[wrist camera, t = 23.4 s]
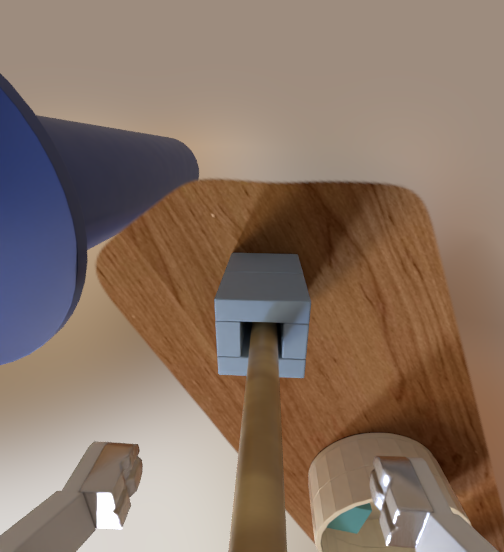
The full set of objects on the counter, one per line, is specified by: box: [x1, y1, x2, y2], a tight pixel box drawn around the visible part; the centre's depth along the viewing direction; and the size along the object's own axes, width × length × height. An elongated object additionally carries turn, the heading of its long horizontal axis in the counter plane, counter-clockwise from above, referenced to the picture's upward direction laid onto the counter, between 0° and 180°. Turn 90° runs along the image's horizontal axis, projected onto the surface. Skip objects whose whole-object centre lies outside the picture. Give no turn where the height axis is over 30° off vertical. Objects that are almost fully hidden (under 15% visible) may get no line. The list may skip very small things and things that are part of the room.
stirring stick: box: [228, 322, 287, 552], centre depth 13 cm, size 2×2×15 cm
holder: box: [214, 253, 311, 378], centre depth 20 cm, size 5×5×8 cm
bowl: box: [308, 433, 472, 552], centre depth 30 cm, size 14×14×6 cm
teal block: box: [326, 503, 372, 534], centre depth 30 cm, size 4×4×4 cm
